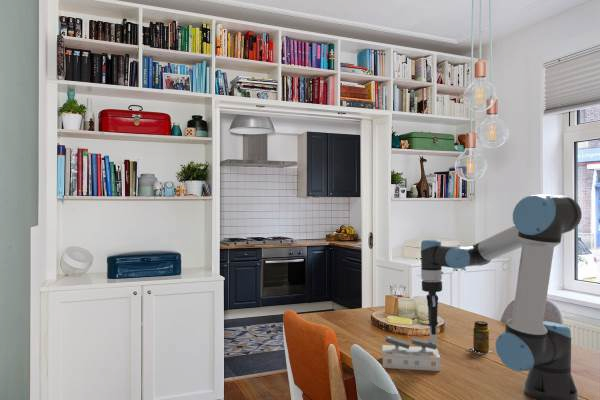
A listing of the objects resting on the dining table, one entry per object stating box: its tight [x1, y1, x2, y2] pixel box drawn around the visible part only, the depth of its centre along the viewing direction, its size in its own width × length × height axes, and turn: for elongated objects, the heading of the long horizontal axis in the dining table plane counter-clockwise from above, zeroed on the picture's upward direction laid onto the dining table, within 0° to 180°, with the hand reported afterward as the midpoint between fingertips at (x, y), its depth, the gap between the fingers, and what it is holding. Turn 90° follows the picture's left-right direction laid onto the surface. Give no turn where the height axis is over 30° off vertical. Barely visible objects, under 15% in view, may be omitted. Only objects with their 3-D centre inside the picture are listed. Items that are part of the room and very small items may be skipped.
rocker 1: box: [384, 335, 410, 349], centre depth 184 cm, size 4×9×2 cm, turn 80°
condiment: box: [466, 320, 494, 356], centre depth 199 cm, size 7×8×12 cm
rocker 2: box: [411, 336, 438, 350], centre depth 182 cm, size 4×9×2 cm, turn 80°
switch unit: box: [382, 344, 441, 372], centre depth 183 cm, size 12×21×7 cm, turn 80°
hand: (433, 342), depth 181 cm, fingers closed
